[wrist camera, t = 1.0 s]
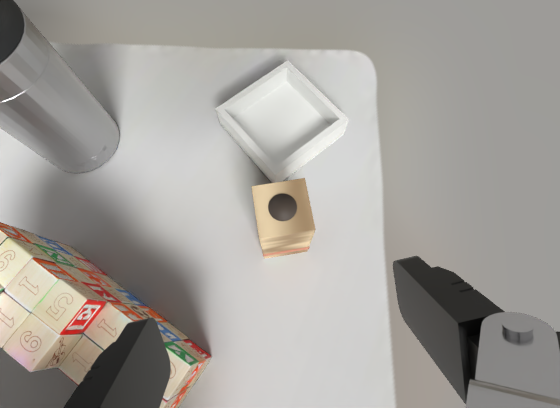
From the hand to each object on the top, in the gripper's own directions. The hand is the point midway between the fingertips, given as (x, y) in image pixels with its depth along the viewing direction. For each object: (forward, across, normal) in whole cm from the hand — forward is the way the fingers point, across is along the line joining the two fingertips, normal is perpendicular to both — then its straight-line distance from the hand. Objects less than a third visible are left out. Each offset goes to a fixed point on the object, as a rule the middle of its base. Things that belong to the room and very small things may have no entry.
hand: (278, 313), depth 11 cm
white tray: (+35, -4, -4) cm, 36 cm away
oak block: (+28, -1, +7) cm, 29 cm away
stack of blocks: (+24, +19, +12) cm, 33 cm away
